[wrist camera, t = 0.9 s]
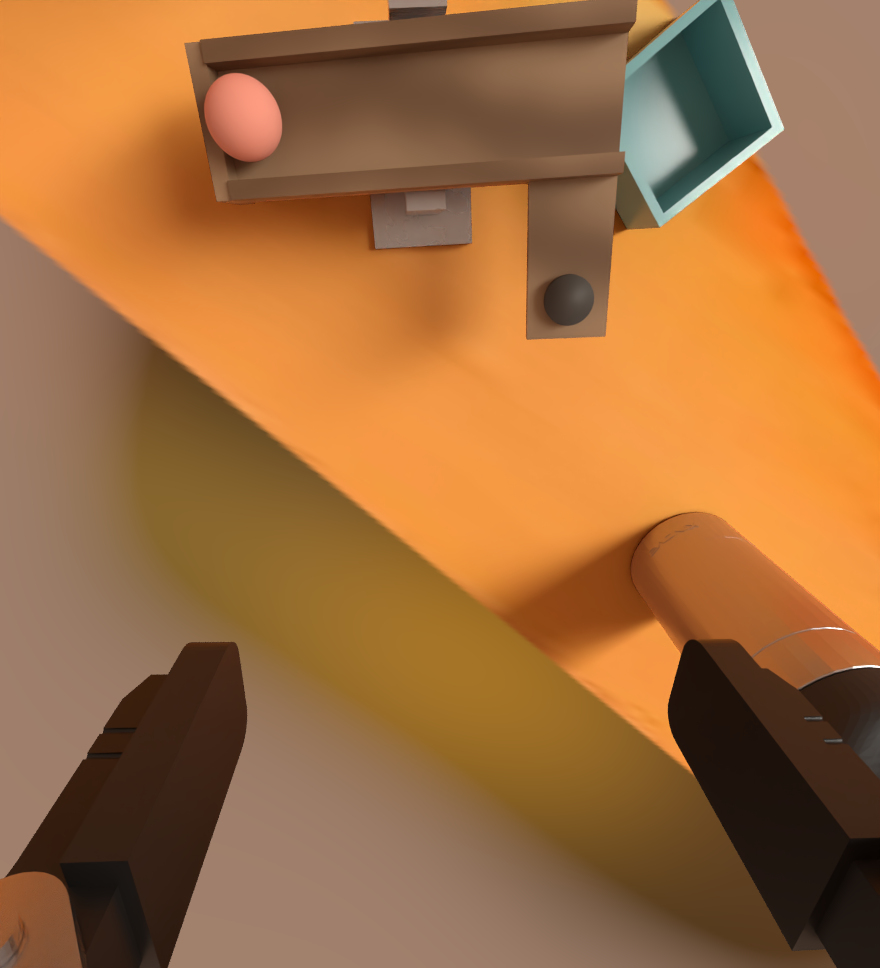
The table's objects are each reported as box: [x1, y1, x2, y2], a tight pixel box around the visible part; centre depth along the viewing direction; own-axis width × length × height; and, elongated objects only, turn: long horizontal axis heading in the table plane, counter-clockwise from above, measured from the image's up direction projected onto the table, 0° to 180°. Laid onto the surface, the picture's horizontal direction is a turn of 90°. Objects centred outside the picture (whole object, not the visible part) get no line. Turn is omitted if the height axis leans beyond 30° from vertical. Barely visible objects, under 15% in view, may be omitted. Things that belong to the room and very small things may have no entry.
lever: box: [184, 0, 637, 340], centre depth 25 cm, size 13×19×3 cm
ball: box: [204, 73, 282, 162], centre depth 23 cm, size 3×3×3 cm
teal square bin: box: [615, 0, 784, 230], centre depth 29 cm, size 8×8×5 cm
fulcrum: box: [354, 0, 472, 249], centre depth 27 cm, size 11×6×8 cm, turn 3°
